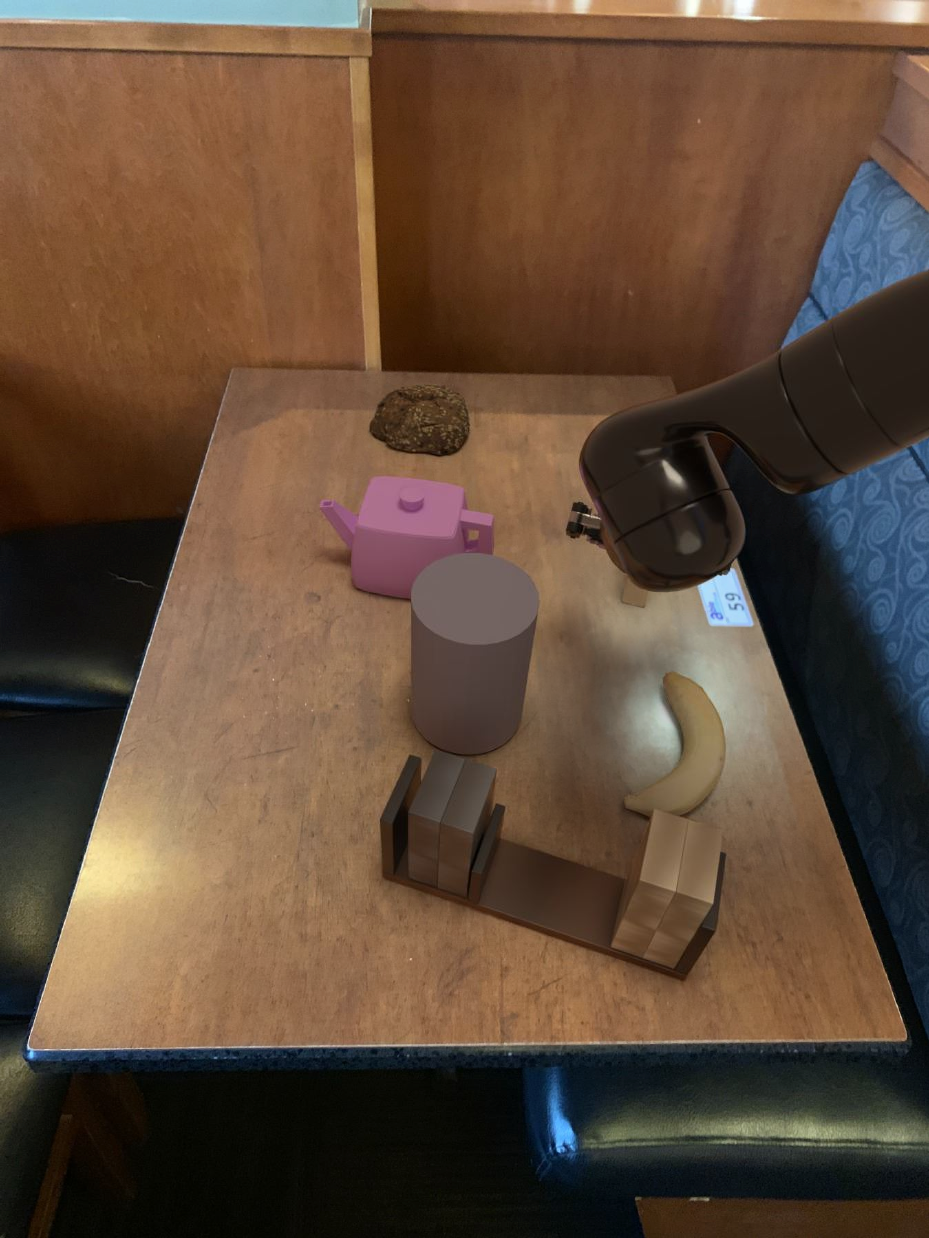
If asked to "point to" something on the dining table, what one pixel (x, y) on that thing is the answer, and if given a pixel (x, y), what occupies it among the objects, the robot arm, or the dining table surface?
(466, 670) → the grey upright cylinder
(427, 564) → the teapot
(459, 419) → the bread roll
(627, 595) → the cream book
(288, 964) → the dining table surface
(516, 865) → the book rack
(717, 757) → the fruit
